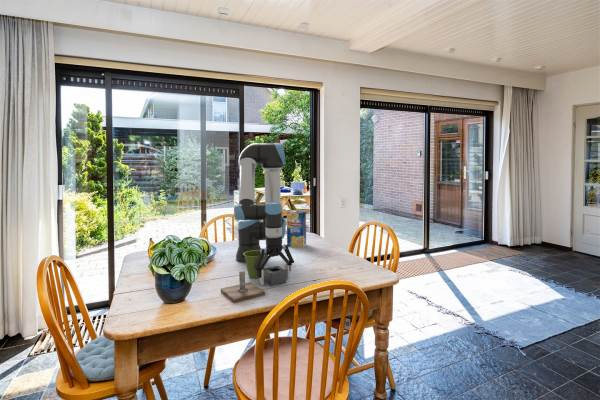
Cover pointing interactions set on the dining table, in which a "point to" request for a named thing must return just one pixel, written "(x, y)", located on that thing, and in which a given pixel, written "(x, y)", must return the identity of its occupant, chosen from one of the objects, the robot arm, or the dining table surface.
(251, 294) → the stand
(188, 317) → the dining table surface
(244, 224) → the robot arm
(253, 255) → the plant pot
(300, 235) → the beverage box
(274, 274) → the grey square block
